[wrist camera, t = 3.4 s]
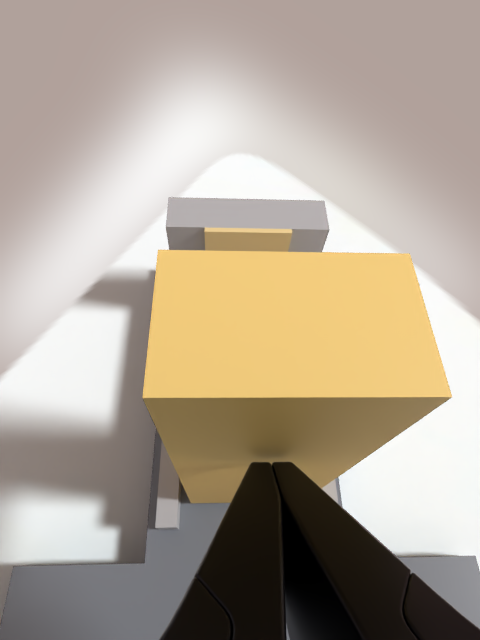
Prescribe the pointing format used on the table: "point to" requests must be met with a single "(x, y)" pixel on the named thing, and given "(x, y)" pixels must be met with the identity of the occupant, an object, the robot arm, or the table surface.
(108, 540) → the table surface
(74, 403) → the table surface
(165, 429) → the tall mustard pillar
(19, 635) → the checker
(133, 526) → the table surface
